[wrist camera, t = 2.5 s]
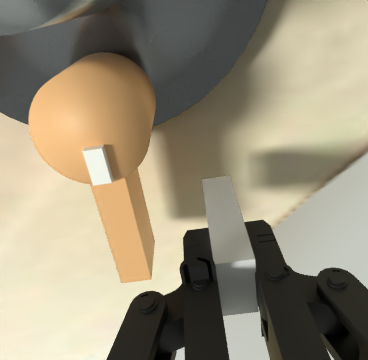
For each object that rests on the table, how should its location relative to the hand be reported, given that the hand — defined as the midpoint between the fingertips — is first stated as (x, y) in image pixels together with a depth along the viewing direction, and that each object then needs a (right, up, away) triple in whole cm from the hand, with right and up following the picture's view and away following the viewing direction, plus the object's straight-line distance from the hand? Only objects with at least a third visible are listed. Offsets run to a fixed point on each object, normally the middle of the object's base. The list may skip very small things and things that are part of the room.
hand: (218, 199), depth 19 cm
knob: (-5, +2, +1) cm, 6 cm away
